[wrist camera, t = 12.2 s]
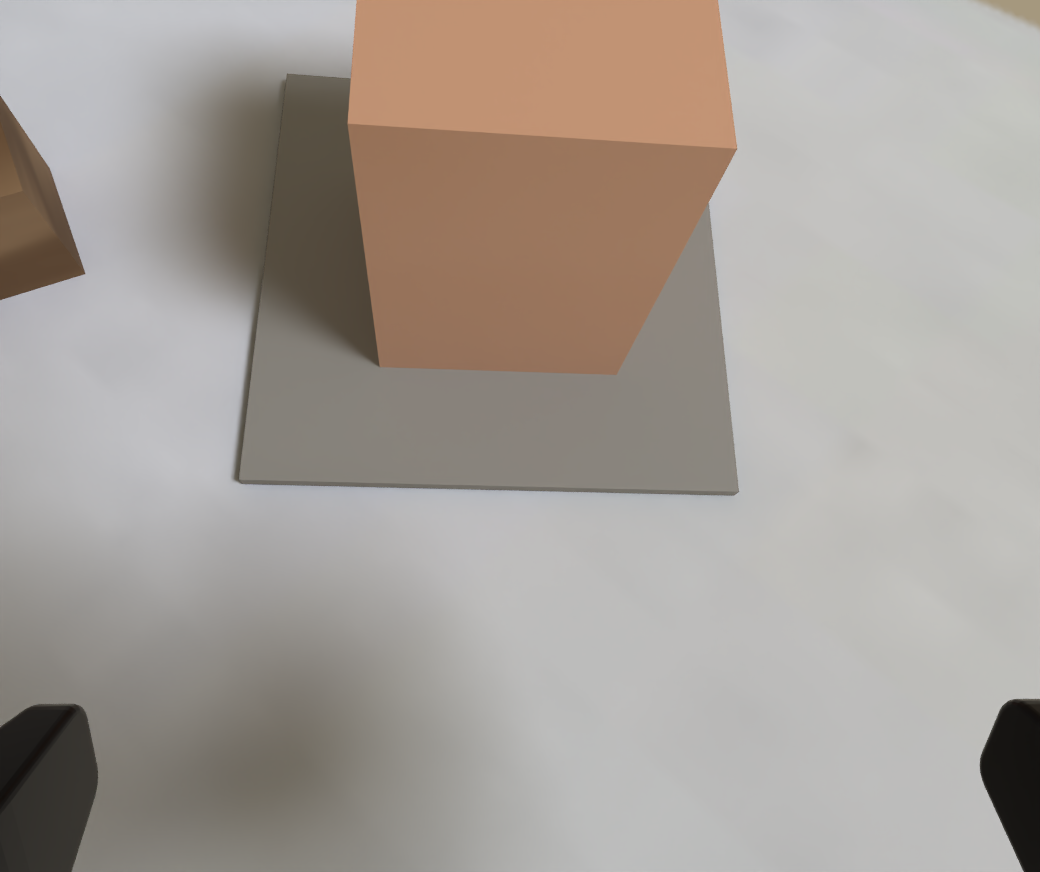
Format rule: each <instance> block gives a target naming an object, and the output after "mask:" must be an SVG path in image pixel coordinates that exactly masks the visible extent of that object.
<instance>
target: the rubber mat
mask: <svg viewBox="0 0 1040 872" xmlns="http://www.w3.org/2000/svg"><path fill="white" fill-rule="evenodd" d="M350 84H351V79H349V78H336V77H323V76H309V75H296V74H287V78H286V86H285V95H284V103H283V111H282V120H281V128H280V137H279V145H278V154H277V162H276V170H275V179H274V187H273V196H272V204H271V213H270V221H269V229H268V238H267V246H266V255H265V263H264V271H263V280H262V288H261V297H260V305H259V314H258V322H257V330H256V339H255V347H254V356H253V364H252V373H251V381H250V389H249V398H248V406H247V415H246V423H245V432H244V440H243V448H242V457H241V465H240V474H239V481H240V482H241V483H242V484H269V485H311V486H354V487H396V488H438V489H480V490H523V491H565V492H607V493H650V494H692V495H735V494H736V493H738V492H739V489H738V479H737V469H736V460H735V450H734V441H733V431H732V422H731V412H730V402H729V393H728V383H727V374H726V364H725V355H724V345H723V336H722V326H721V316H720V307H719V297H718V288H717V278H716V269H715V259H714V249H713V240H712V230H711V221H710V211H709V202H708V204H707V206H706V208H705V210H704V212H703V214H702V216H701V218H700V219H699V221H698V223H697V225H696V227H695V229H694V231H693V233H692V234H691V236H690V238H689V240H688V242H687V244H686V246H685V248H684V249H683V251H682V253H681V255H680V257H679V259H678V261H677V263H676V264H675V266H674V268H673V270H672V272H671V274H670V276H669V278H668V279H667V281H666V283H665V285H664V287H663V289H662V291H661V293H660V294H659V296H658V298H657V300H656V302H655V304H654V306H653V308H652V309H651V311H650V313H649V315H648V317H647V319H646V321H645V323H644V324H643V326H642V328H641V330H640V332H639V334H638V336H637V338H636V339H635V341H634V343H633V345H632V347H631V349H630V351H629V353H628V354H627V356H626V358H625V360H624V362H623V364H622V366H621V368H620V369H619V371H618V373H617V375H603V374H573V373H542V372H512V371H482V370H452V369H421V368H391V367H380V365H379V358H378V350H377V343H376V335H375V327H374V320H373V312H372V305H371V297H370V290H369V282H368V275H367V267H366V259H365V252H364V244H363V237H362V229H361V222H360V214H359V207H358V199H357V191H356V184H355V176H354V169H353V161H352V154H351V146H350V139H349V131H348V111H349V97H350Z"/></svg>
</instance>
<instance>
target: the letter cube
mask: <svg viewBox="0 0 1040 872" xmlns="http://www.w3.org/2000/svg"><path fill="white" fill-rule="evenodd" d="M83 274H85V271H84V268H83V265H82V262H81V259H80V257H79V254H78V251H77V248H76V245H75V242H74V239H73V236H72V233H71V230H70V227H69V224H68V221H67V218H66V215H65V212H64V209H63V206H62V203H61V200H60V197H59V195H58V192H57V189H56V186H55V183H54V180H53V177H52V174H51V171H50V168H49V167H48V165H47V164H46V163H45V161H44V160H43V158H42V157H41V155H40V154H39V152H38V151H37V149H36V148H35V146H34V145H33V143H32V142H31V140H30V139H29V137H28V136H27V134H26V133H25V131H24V130H23V129H22V127H21V126H20V124H19V123H18V121H17V120H16V118H15V117H14V115H13V114H12V112H11V111H10V109H9V108H8V106H7V105H6V103H5V102H4V100H3V99H2V97H1V96H0V300H2V299H5V298H8V297H12V296H15V295H18V294H21V293H25V292H28V291H31V290H34V289H38V288H41V287H44V286H47V285H51V284H54V283H57V282H60V281H64V280H67V279H70V278H73V277H77V276H80V275H83Z"/></svg>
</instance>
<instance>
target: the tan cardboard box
mask: <svg viewBox="0 0 1040 872" xmlns="http://www.w3.org/2000/svg"><path fill="white" fill-rule="evenodd" d="M348 131H349V139H350V146H351V154H352V161H353V169H354V176H355V184H356V191H357V199H358V207H359V214H360V222H361V229H362V237H363V244H364V252H365V259H366V267H367V275H368V282H369V290H370V297H371V305H372V312H373V320H374V327H375V335H376V343H377V350H378V358H379V365H380V367H391V368H421V369H452V370H482V371H512V372H542V373H573V374H603V375H617V373H618V371H619V369H620V368H621V366H622V364H623V362H624V360H625V358H626V356H627V354H628V353H629V351H630V349H631V347H632V345H633V343H634V341H635V339H636V338H637V336H638V334H639V332H640V330H641V328H642V326H643V324H644V323H645V321H646V319H647V317H648V315H649V313H650V311H651V309H652V308H653V306H654V304H655V302H656V300H657V298H658V296H659V294H660V293H661V291H662V289H663V287H664V285H665V283H666V281H667V279H668V278H669V276H670V274H671V272H672V270H673V268H674V266H675V264H676V263H677V261H678V259H679V257H680V255H681V253H682V251H683V249H684V248H685V246H686V244H687V242H688V240H689V238H690V236H691V234H692V233H693V231H694V229H695V227H696V225H697V223H698V221H699V219H700V218H701V216H702V214H703V212H704V210H705V208H706V206H707V204H708V202H709V201H710V199H711V197H712V195H713V193H714V191H715V189H716V187H717V186H718V184H719V182H720V180H721V178H722V176H723V174H724V172H725V171H726V169H727V167H728V165H729V163H730V161H731V159H732V157H733V156H734V154H735V152H736V150H737V144H736V136H735V129H734V121H733V113H732V106H731V98H730V90H729V83H728V75H727V67H726V59H725V52H724V44H723V36H722V29H721V21H720V13H719V6H718V0H357V4H356V17H355V31H354V44H353V57H352V71H351V84H350V97H349V111H348Z"/></svg>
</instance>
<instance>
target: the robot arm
mask: <svg viewBox="0 0 1040 872" xmlns="http://www.w3.org/2000/svg"><path fill="white" fill-rule="evenodd" d="M980 773H981V777H982V780H983V783H984V786H985V788H986V790H987V792H988V794H989V797H990V799H991V801H992V803H993V805H994V808H995V810H996V812H997V814H998V816H999V819H1000V821H1001V823H1002V825H1003V827H1004V830H1005V832H1006V834H1007V836H1008V838H1009V841H1010V843H1011V845H1012V847H1013V849H1014V851H1015V854H1016V856H1017V858H1018V860H1019V862H1020V865H1021V867H1022V869H1023V871H1024V872H1040V699H1013V700H1010V701H1008V702H1007V703H1005V704H1004V705H1003V706H1002V708H1001V709H1000V711H999V714H998V716H997V718H996V721H995V723H994V726H993V728H992V730H991V733H990V735H989V737H988V740H987V742H986V745H985V747H984V749H983V752H982V754H981V758H980ZM97 783H98V768H97V763H96V758H95V753H94V748H93V743H92V738H91V733H90V728H89V724H88V719H87V715H86V713H85V711H84V709H83V708H82V707H81V706H79V705H76V704H38V705H33V706H31V707H29V708H27V709H25V710H24V711H22V712H21V713H19V714H18V715H17V716H15V717H14V718H12V719H11V720H10V721H8V722H7V723H5V724H4V725H3V726H1V727H0V872H71V871H72V868H73V865H74V862H75V859H76V855H77V852H78V849H79V846H80V843H81V840H82V836H83V833H84V830H85V827H86V824H87V821H88V817H89V814H90V811H91V808H92V805H93V801H94V798H95V794H96V790H97Z"/></svg>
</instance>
